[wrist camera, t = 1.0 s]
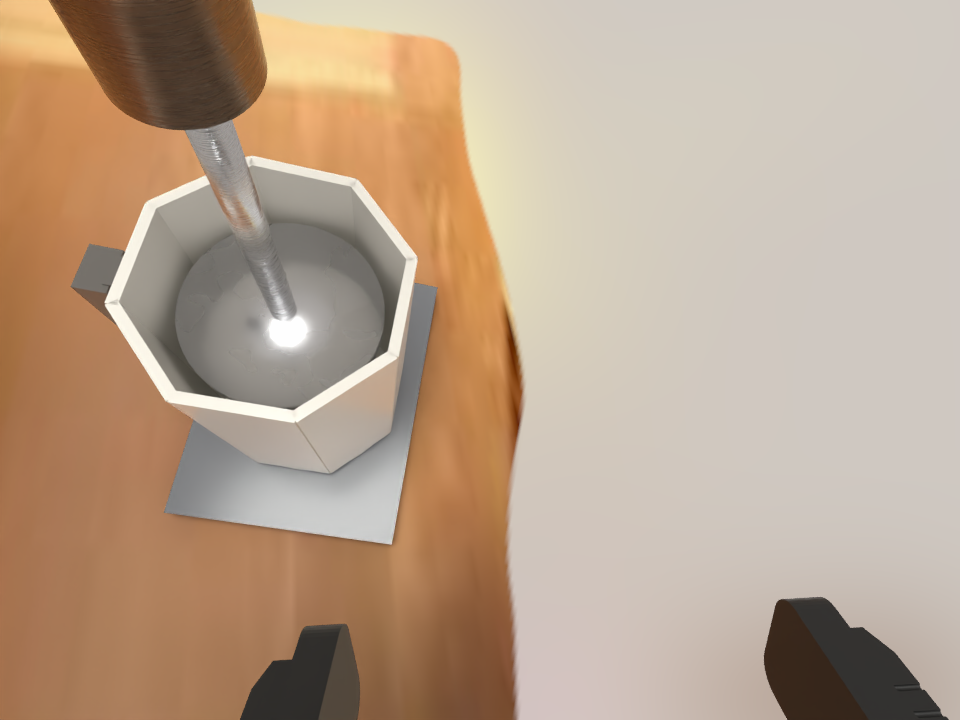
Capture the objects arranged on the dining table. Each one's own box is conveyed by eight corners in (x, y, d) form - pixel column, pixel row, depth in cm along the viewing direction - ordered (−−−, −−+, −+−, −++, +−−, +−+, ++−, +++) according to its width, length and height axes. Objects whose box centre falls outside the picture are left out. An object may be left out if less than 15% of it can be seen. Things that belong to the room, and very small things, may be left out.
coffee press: (151, 510, 30) (-66, 478, 15) (234, 257, 35) (133, 57, 21) (391, 544, 31) (401, 545, 17) (435, 297, 37) (471, 136, 22)
